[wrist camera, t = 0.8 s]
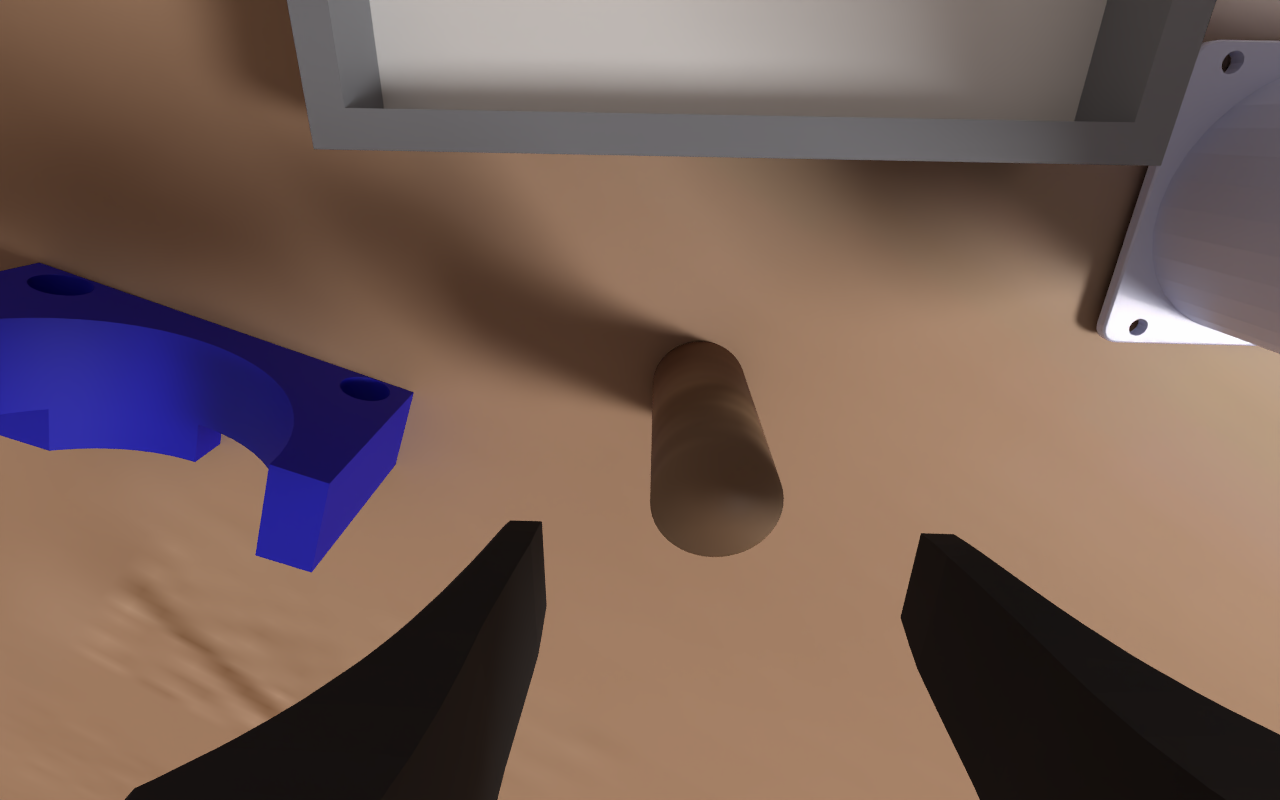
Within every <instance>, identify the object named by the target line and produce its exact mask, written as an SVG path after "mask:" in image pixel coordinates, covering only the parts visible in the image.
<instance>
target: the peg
mask: <svg viewBox="0 0 1280 800" xmlns="http://www.w3.org/2000/svg"><path fill="white" fill-rule="evenodd" d="M783 499H784V497H783V489H782V486H781V482H780V479H779V476H778V473H777V470H776V467H775V464H774V461H773V459H772V456H771V453H770V450H769V447H768V444H767V441H766V438H765V435H764V432H763V429H762V426H761V423H760V420H759V417H758V414H757V411H756V408H755V405H754V403H753V400H752V397H751V394H750V391H749V388H748V385H747V382H746V379H745V376H744V373H743V370H742V368H741V365H740V364H739V362H738V360H737V359H736V358H735V356H734V355H733V354H732V353H730V352H729V351H728V350H727V349H725V348H723V347H721V346H719V345H717V344H714V343H710V342H702V341H699V342H690V343H686V344H683V345H681V346H678V347H676V348H675V349H673V350H672V351H670V352H669V353H668V354H667V355H666V356H665V357H664V358H663V359H662V360H661V362H660V363H659V365H658V367H657V369H656V371H655V375H654V380H653V411H652V451H651V492H650V506H651V513H652V517H653V519H654V522H655V524H656V526H657V528H658V529H659V531H660V532H661V533H662V535H663V536H664V537H665V538H666V539H667V540H668V541H670V542H671V543H672V544H674V545H675V546H677V547H678V548H680V549H682V550H684V551H687V552H689V553H692V554H696V555H700V556H708V557H722V556H730V555H734V554H738V553H741V552H743V551H746V550H748V549H750V548H752V547H754V546H755V545H757V544H758V543H760V542H761V541H762V540H764V539H765V538H766V537H767V536H768V535H769V534H770V533H771V531H772V530H773V529H774V527H775V526H776V524H777V522H778V520H779V518H780V515H781V513H782V508H783Z"/></svg>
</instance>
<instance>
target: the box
mask: <svg viewBox="0 0 1280 800" xmlns="http://www.w3.org/2000/svg"><path fill="white" fill-rule="evenodd" d="M1215 3H1216V0H287V4H288V9H289V15H290V20H291V26H292V31H293V37H294V42H295V48H296V53H297V59H298V64H299V70H300V75H301V81H302V86H303V92H304V97H305V103H306V108H307V114H308V119H309V125H310V130H311V136H312V141H313V147H314V149H332V150H383V151H434V152H485V153H536V154H587V155H638V156H689V157H740V158H791V159H842V160H893V161H944V162H995V163H1046V164H1097V165H1148V166H1161V164H1162V161H1163V158H1164V155H1165V152H1166V149H1167V146H1168V143H1169V140H1170V137H1171V134H1172V131H1173V128H1174V125H1175V122H1176V119H1177V116H1178V113H1179V110H1180V107H1181V104H1182V101H1183V98H1184V95H1185V92H1186V89H1187V86H1188V83H1189V80H1190V77H1191V74H1192V72H1193V69H1194V66H1195V63H1196V60H1197V57H1198V54H1199V51H1200V48H1201V45H1202V42H1203V39H1204V36H1205V33H1206V30H1207V27H1208V24H1209V21H1210V18H1211V15H1212V12H1213V9H1214V6H1215Z"/></svg>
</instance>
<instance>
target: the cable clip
mask: <svg viewBox="0 0 1280 800" xmlns="http://www.w3.org/2000/svg"><path fill="white" fill-rule="evenodd" d="M413 393H414V392H411V391H408V390H405V389H402V388H399V387H396V386H394V385H391V384H388V383H385V382H382V381H379V380H376V379H373V378H370V377H368V376H365V375H362V374H359V373H356V372H353V371H350V370H347V369H345V368H342V367H339V366H336V365H333V364H330V363H327V362H324V361H321V360H319V359H316V358H313V357H310V356H307V355H304V354H301V353H298V352H296V351H293V350H290V349H287V348H284V347H281V346H278V345H275V344H272V343H270V342H267V341H264V340H261V339H258V338H255V337H252V336H249V335H247V334H244V333H241V332H238V331H235V330H232V329H229V328H226V327H223V326H221V325H218V324H215V323H212V322H209V321H206V320H203V319H200V318H198V317H195V316H192V315H189V314H186V313H183V312H180V311H177V310H174V309H172V308H169V307H166V306H163V305H160V304H157V303H154V302H151V301H149V300H146V299H143V298H140V297H137V296H134V295H131V294H128V293H125V292H123V291H120V290H117V289H114V288H111V287H108V286H105V285H102V284H100V283H97V282H94V281H91V280H88V279H85V278H82V277H79V276H76V275H74V274H71V273H68V272H65V271H62V270H59V269H56V268H53V267H51V266H48V265H45V264H42V263H35V264H31V265H26V266H22V267H17V268H13V269H8V270H4V271H0V435H1V436H4V437H7V438H11V439H14V440H17V441H20V442H23V443H27V444H30V445H33V446H36V447H39V448H43V449H46V450H49V451H51V450H63V449H83V448H108V449H127V450H139V451H146V452H154V453H160V454H165V455H170V456H175V457H179V458H183V459H187V460H190V461H193V462H196V461H197V460H198V459H200V458H201V457H203V456H204V455H205V454H207V453H208V452H209V451H211V450H212V449H214V448H215V447H216V446H218V445H219V444H220V440H221V433H222V434H224V435H226V436H228V437H230V438H232V439H234V440H235V441H237V442H238V443H240V444H242V445H243V446H245V447H246V448H248V449H249V450H250V451H252V452H253V453H254V454H255V455H256V456H257V457H258V458H259V459H260V460H262V461H263V463H264V464H265V465H266V466H267V468H268V469H269V471H268V477H267V484H266V490H265V497H264V503H263V510H262V516H261V523H260V529H259V536H258V542H257V549H256V556H260V557H263V558H266V559H269V560H273V561H276V562H279V563H283V564H286V565H289V566H292V567H296V568H299V569H302V570H305V571H309V572H312V571H313V570H314V569H315V567H316V566H317V565H318V563H319V562H320V561H321V560H322V558H323V557H324V556H325V554H326V553H327V552H328V551H329V549H330V548H331V547H332V545H333V544H334V543H335V542H336V540H337V539H338V538H339V536H340V535H341V534H342V533H343V531H344V530H345V529H346V527H347V526H348V525H349V524H350V522H351V521H352V520H353V518H354V517H355V516H356V515H357V513H358V512H359V511H360V509H361V508H362V507H363V506H364V504H365V503H366V502H367V501H368V499H369V498H370V497H371V495H372V494H373V493H374V492H375V490H376V489H377V488H378V486H379V485H380V484H381V483H382V481H383V480H384V479H385V477H386V476H387V475H388V474H389V472H390V471H391V470H392V468H393V467H394V466H395V464H396V460H397V456H398V452H399V449H400V445H401V441H402V437H403V433H404V429H405V425H406V421H407V417H408V413H409V409H410V405H411V401H412V397H413Z"/></svg>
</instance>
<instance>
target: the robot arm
mask: <svg viewBox="0 0 1280 800" xmlns="http://www.w3.org/2000/svg"><path fill="white" fill-rule="evenodd" d="M1228 54H1229V55H1230V57H1231V64H1230V66H1229V67H1228V69H1227V70H1226V71H1225V72H1223V70H1222V62H1223V60H1224V58H1225V57H1226V56H1227V55H1228ZM1137 319H1139V320H1138V325H1137V326H1136V328H1135V329H1133V330H1132V331H1129V327H1130V325H1131V324H1132V322H1134V321H1135V320H1137ZM1097 332H1098V334H1099V335H1100V336H1101V337H1102V338H1104V339H1106V340H1108V341H1112V342H1128V343H1167V344H1207V345H1247V346H1260V347H1263V348H1265V349H1268V350H1271V351H1273V352H1276V353H1279V354H1280V41H1270V40H1214V41H1208V42H1203V43H1202V45H1201V48H1200V51H1199V54H1198V57H1197V60H1196V63H1195V66H1194V69H1193V72H1192V74H1191V77H1190V80H1189V83H1188V86H1187V89H1186V92H1185V95H1184V98H1183V101H1182V104H1181V107H1180V110H1179V113H1178V116H1177V119H1176V122H1175V125H1174V128H1173V131H1172V134H1171V137H1170V140H1169V143H1168V146H1167V149H1166V152H1165V155H1164V158H1163V161H1162V164H1161V166H1148V169H1147V172H1146V175H1145V179H1144V182H1143V185H1142V188H1141V191H1140V194H1139V197H1138V200H1137V203H1136V206H1135V209H1134V212H1133V215H1132V218H1131V221H1130V224H1129V227H1128V230H1127V234H1126V237H1125V240H1124V243H1123V246H1122V249H1121V252H1120V255H1119V258H1118V261H1117V264H1116V267H1115V270H1114V273H1113V276H1112V279H1111V282H1110V285H1109V289H1108V292H1107V295H1106V298H1105V301H1104V304H1103V307H1102V310H1101V313H1100V316H1099V319H1098V322H1097ZM545 611H546V588H545V570H544V552H543V534H542V522H541V521H509V522H508V523H507V524H506V525H505V526H504V527H503V528H502V529H501V530H500V531H499V532H498V533H497V535H496V536H495V537H494V538H493V539H492V540H491V541H490V542H489V543H488V544H487V546H486V547H485V548H484V549H483V550H482V551H481V552H480V553H479V554H478V555H477V556H476V558H475V559H474V560H473V561H472V562H471V563H470V564H469V565H468V566H467V567H466V568H465V569H464V570H463V571H462V572H461V573H460V574H459V575H458V576H457V577H456V578H455V579H454V580H453V581H452V582H451V583H450V584H449V585H448V586H447V587H446V588H445V589H444V590H443V591H442V592H441V593H440V594H439V595H438V596H437V597H436V598H435V599H434V600H433V601H431V602H430V603H429V604H428V605H427V606H426V607H425V608H424V609H423V610H422V611H421V612H419V613H418V614H417V615H416V616H415V617H414V618H413V619H412V620H411V621H410V622H408V623H407V624H406V625H405V626H404V627H403V628H401V629H400V630H399V631H398V632H397V633H395V634H394V635H393V636H392V637H391V638H389V639H388V640H387V641H386V642H384V643H383V644H382V645H381V646H379V647H378V648H377V649H375V650H374V651H373V652H371V653H370V654H369V655H368V656H366V657H365V658H364V659H362V660H361V661H359V662H358V663H357V664H355V665H354V666H352V667H351V668H349V669H348V670H346V671H345V672H343V673H342V674H340V675H339V676H337V677H336V678H334V679H333V680H331V681H330V682H328V683H327V684H325V685H324V686H322V687H321V688H319V689H318V690H316V691H315V692H313V693H312V694H310V695H309V696H307V697H306V698H304V699H303V700H301V701H300V702H298V703H296V704H295V705H293V706H291V707H290V708H288V709H286V710H285V711H283V712H281V713H280V714H278V715H276V716H274V717H273V718H271V719H269V720H268V721H266V722H264V723H262V724H261V725H259V726H257V727H255V728H253V729H252V730H250V731H248V732H246V733H244V734H243V735H241V736H239V737H237V738H235V739H234V740H232V741H230V742H228V743H226V744H224V745H222V746H220V747H218V748H217V749H215V750H213V751H210V752H208V753H206V754H204V755H202V756H200V757H198V758H196V759H194V760H192V761H190V762H188V763H186V764H184V765H182V766H180V767H178V768H176V769H174V770H172V771H170V772H168V773H166V774H164V775H162V776H160V777H158V778H156V779H154V780H152V781H150V782H147V783H145V784H143V785H141V786H139V787H137V788H134V790H133V791H132V792H131V793H130V794H129V795H128V796H127V798H126V799H125V800H497V799H498V794H499V791H500V787H501V783H502V779H503V775H504V771H505V767H506V764H507V760H508V757H509V753H510V750H511V747H512V743H513V740H514V736H515V733H516V730H517V726H518V723H519V719H520V716H521V713H522V709H523V706H524V702H525V699H526V696H527V692H528V689H529V685H530V682H531V678H532V675H533V671H534V668H535V664H536V661H537V657H538V653H539V647H540V642H541V636H542V630H543V624H544V618H545ZM901 620H902V623H903V627H904V630H905V633H906V636H907V639H908V643H909V646H910V649H911V652H912V654H913V657H914V660H915V663H916V666H917V669H918V671H919V673H920V675H921V677H922V680H923V682H924V684H925V686H926V688H927V690H928V692H929V694H930V697H931V699H932V701H933V703H934V705H935V707H936V709H937V711H938V713H939V715H940V717H941V719H942V722H943V724H944V726H945V728H946V730H947V732H948V734H949V736H950V738H951V740H952V742H953V744H954V746H955V748H956V750H957V752H958V754H959V756H960V759H961V761H962V763H963V765H964V767H965V769H966V771H967V773H968V775H969V777H970V779H971V781H972V783H973V785H974V787H975V790H976V792H977V794H978V796H979V799H980V800H1280V735H1279V734H1277V733H1275V732H1273V731H1271V730H1269V729H1267V728H1265V727H1263V726H1261V725H1259V724H1257V723H1255V722H1253V721H1251V720H1249V719H1247V718H1245V717H1243V716H1241V715H1239V714H1237V713H1235V712H1233V711H1231V710H1229V709H1227V708H1225V707H1223V706H1221V705H1219V704H1218V703H1216V702H1214V701H1212V700H1210V699H1208V698H1206V697H1204V696H1202V695H1201V694H1199V693H1197V692H1195V691H1193V690H1191V689H1190V688H1188V687H1186V686H1184V685H1183V684H1181V683H1179V682H1177V681H1176V680H1174V679H1172V678H1170V677H1169V676H1167V675H1165V674H1163V673H1161V672H1160V671H1158V670H1156V669H1154V668H1153V667H1151V666H1149V665H1147V664H1146V663H1144V662H1142V661H1141V660H1139V659H1137V658H1136V657H1134V656H1132V655H1131V654H1129V653H1128V652H1126V651H1124V650H1123V649H1121V648H1120V647H1118V646H1116V645H1115V644H1113V643H1112V642H1110V641H1109V640H1107V639H1106V638H1104V637H1102V636H1101V635H1099V634H1098V633H1096V632H1095V631H1093V630H1091V629H1090V628H1088V627H1087V626H1085V625H1084V624H1082V623H1081V622H1079V621H1078V620H1076V619H1075V618H1073V617H1072V616H1070V615H1069V614H1067V613H1066V612H1064V611H1063V610H1062V609H1060V608H1059V607H1057V606H1056V605H1054V604H1053V603H1051V602H1050V601H1049V600H1047V599H1046V598H1044V597H1043V596H1041V595H1040V594H1039V593H1037V592H1036V591H1034V590H1033V589H1032V588H1030V587H1029V586H1027V585H1026V584H1025V583H1023V582H1022V581H1020V580H1019V579H1018V578H1016V577H1015V576H1013V575H1012V574H1011V573H1009V572H1008V571H1006V570H1005V569H1004V568H1002V567H1001V566H999V565H998V564H997V563H995V562H994V561H992V560H991V559H990V558H988V557H987V556H985V555H984V554H983V553H981V552H980V551H978V550H977V549H975V548H974V547H973V546H971V545H970V544H968V543H967V542H965V541H964V540H962V539H960V538H959V537H957V536H956V535H954V534H925V533H921V536H920V540H919V544H918V548H917V552H916V556H915V560H914V564H913V569H912V573H911V577H910V581H909V585H908V589H907V593H906V597H905V602H904V606H903V610H902V614H901Z"/></svg>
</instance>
